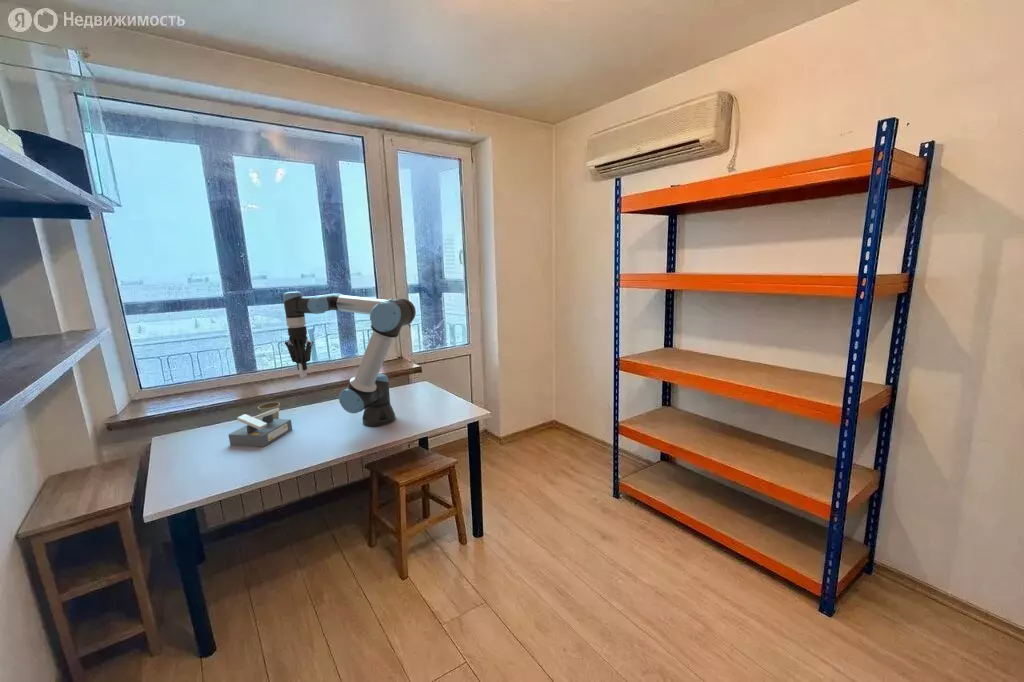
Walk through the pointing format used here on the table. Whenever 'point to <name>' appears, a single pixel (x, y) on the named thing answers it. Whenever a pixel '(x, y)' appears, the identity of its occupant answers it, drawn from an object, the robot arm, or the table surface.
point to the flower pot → (270, 408)
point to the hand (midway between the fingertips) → (303, 376)
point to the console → (260, 433)
